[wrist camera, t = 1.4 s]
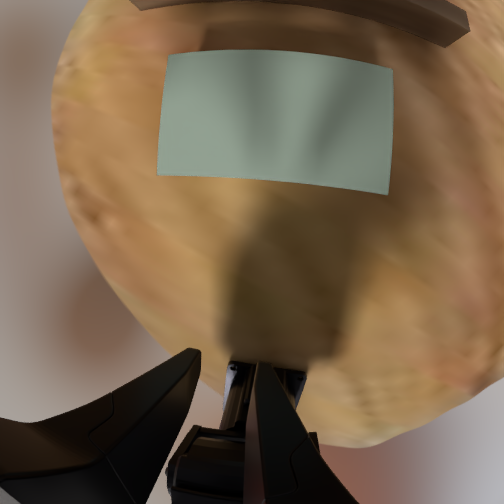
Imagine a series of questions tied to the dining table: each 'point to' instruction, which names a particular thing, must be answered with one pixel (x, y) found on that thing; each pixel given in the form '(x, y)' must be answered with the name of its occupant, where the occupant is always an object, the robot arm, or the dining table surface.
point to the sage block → (277, 118)
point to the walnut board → (378, 14)
